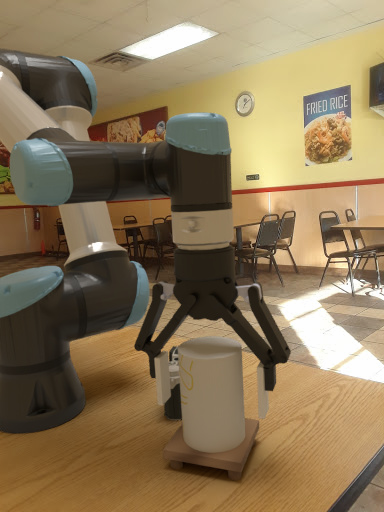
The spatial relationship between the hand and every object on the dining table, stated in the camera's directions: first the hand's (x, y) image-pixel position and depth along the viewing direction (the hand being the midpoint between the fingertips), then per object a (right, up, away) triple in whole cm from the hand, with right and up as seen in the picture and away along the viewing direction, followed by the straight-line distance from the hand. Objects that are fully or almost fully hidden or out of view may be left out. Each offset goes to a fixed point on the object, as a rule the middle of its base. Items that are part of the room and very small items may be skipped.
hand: (212, 406), depth 57 cm
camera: (-2, -5, +18) cm, 18 cm away
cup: (0, -4, +1) cm, 4 cm away
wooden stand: (0, -7, +1) cm, 7 cm away
